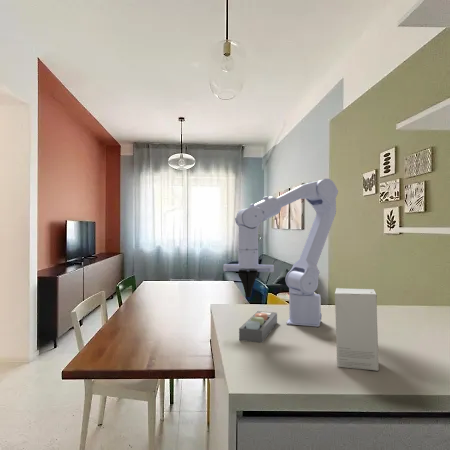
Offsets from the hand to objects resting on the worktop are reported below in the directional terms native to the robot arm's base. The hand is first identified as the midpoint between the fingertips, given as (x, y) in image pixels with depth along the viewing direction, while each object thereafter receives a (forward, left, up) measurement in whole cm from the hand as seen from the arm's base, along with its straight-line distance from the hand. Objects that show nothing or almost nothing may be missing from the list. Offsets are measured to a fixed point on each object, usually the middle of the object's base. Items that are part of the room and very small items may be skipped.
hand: (248, 296), depth 103 cm
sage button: (-4, +5, -8) cm, 10 cm away
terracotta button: (-4, 0, -8) cm, 9 cm away
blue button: (-4, +10, -8) cm, 13 cm away
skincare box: (-29, +20, -9) cm, 36 cm away
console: (-4, +2, -9) cm, 10 cm away
